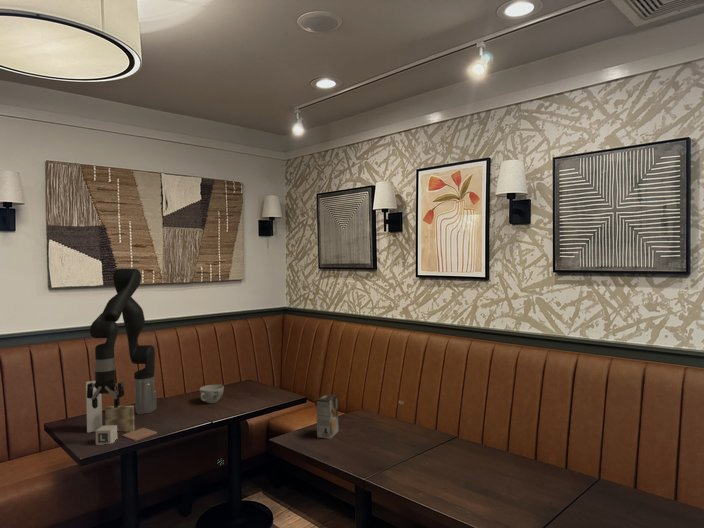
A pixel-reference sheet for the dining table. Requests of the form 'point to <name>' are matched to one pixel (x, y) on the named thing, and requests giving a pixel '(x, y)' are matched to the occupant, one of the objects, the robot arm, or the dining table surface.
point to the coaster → (139, 434)
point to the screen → (120, 417)
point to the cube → (106, 434)
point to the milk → (93, 412)
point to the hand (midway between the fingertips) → (105, 407)
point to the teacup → (211, 393)
